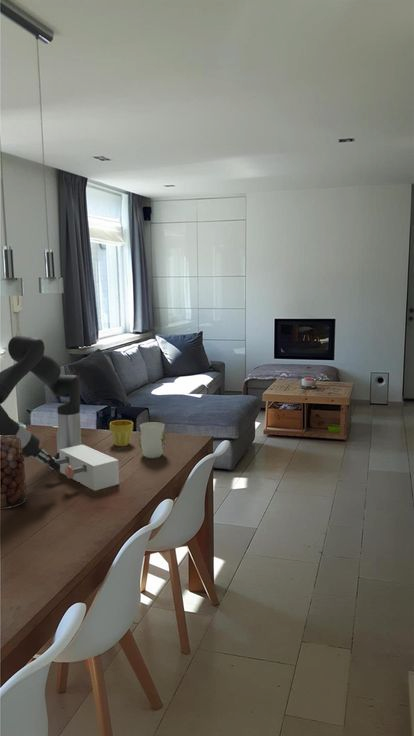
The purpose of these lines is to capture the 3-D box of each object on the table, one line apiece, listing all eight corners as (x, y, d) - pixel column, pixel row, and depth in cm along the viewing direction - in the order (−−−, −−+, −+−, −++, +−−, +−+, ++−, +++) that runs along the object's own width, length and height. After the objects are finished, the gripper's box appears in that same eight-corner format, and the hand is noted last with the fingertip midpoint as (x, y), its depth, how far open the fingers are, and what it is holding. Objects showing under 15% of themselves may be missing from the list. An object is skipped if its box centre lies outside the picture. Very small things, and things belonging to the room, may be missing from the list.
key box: (94, 490, 202) (93, 466, 200) (60, 472, 221) (59, 449, 220) (119, 484, 208) (118, 460, 207) (83, 466, 227) (82, 444, 226)
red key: (71, 480, 200) (70, 467, 199) (65, 476, 203) (64, 464, 203) (93, 474, 205) (92, 462, 205) (86, 471, 209) (86, 459, 208)
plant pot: (131, 447, 253) (131, 425, 251) (108, 447, 253) (107, 425, 251) (135, 440, 263) (134, 419, 261) (112, 440, 263) (111, 419, 262)
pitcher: (168, 448, 250) (167, 417, 248) (164, 461, 233) (163, 428, 231) (143, 448, 251) (142, 417, 249) (136, 461, 233) (136, 428, 231)
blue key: (54, 470, 210) (53, 459, 209) (48, 467, 213) (48, 456, 212) (75, 465, 215) (75, 454, 214) (69, 462, 218) (69, 451, 218)
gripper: (37, 435, 185) (73, 463, 195) (20, 427, 195) (56, 454, 205) (22, 454, 183) (60, 482, 192) (6, 445, 193) (42, 472, 202)
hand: (58, 468), depth 199 cm, fingers closed
